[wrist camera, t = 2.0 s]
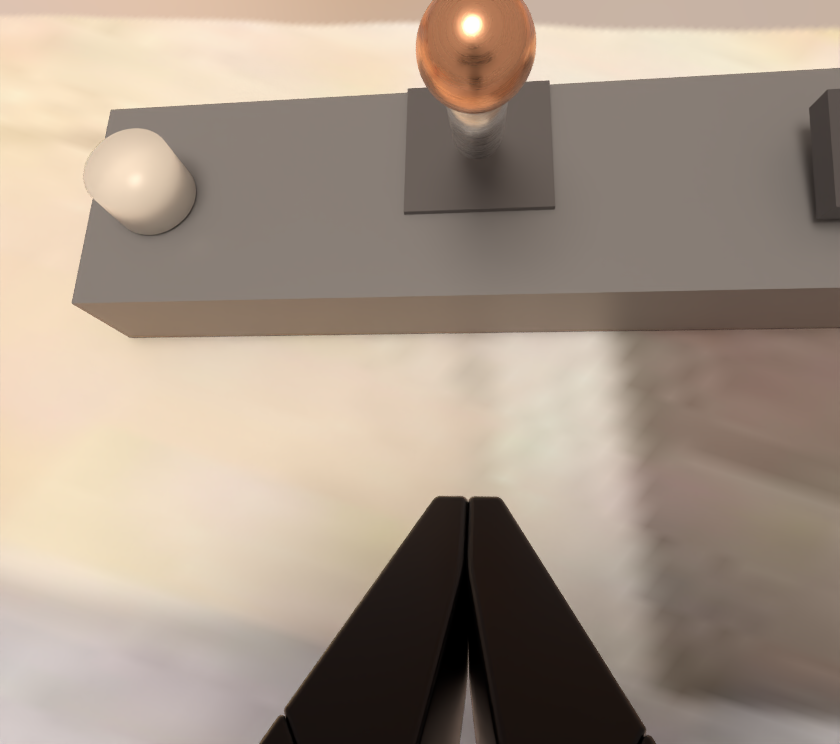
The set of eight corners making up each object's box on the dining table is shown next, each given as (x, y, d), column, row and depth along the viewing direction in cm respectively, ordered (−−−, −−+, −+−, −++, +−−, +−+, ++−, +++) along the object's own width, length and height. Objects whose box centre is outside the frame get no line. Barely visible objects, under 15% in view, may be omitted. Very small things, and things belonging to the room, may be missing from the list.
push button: (190, 233, 21) (163, 205, 19) (109, 236, 21) (75, 208, 19) (201, 159, 21) (176, 126, 20) (123, 163, 22) (92, 130, 20)
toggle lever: (515, 175, 19) (541, 89, 11) (441, 178, 20) (410, 96, 11) (515, 97, 19) (542, -55, 10) (440, 102, 19) (407, -44, 11)
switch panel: (879, 327, 21) (960, 282, 17) (129, 337, 24) (67, 301, 20) (839, 134, 23) (904, 59, 19) (158, 165, 26) (107, 106, 22)
